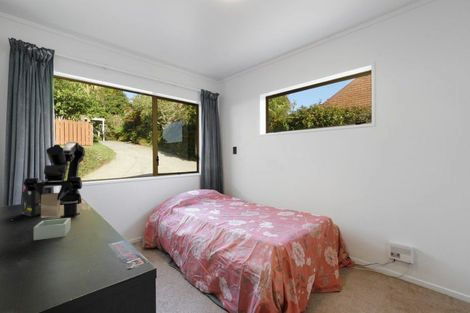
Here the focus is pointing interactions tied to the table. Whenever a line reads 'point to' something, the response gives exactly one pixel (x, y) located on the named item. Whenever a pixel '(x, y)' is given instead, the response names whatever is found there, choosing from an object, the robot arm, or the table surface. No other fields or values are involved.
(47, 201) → the tan upright block
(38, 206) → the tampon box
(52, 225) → the pale green open tray
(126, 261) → the table surface
